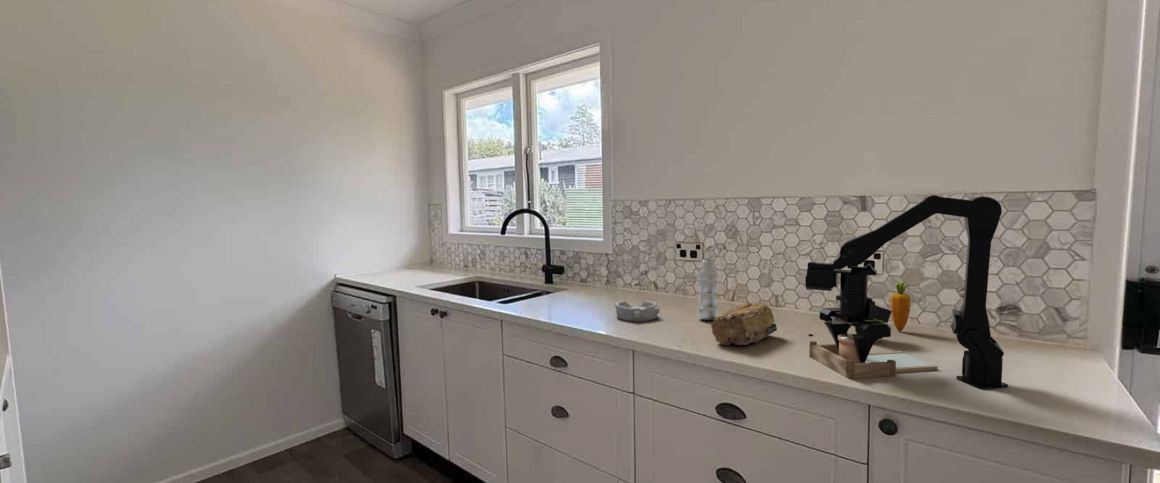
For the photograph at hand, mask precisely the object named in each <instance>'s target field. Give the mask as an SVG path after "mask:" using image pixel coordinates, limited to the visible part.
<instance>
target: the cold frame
mask: <svg viewBox="0 0 1160 483" xmlns="http://www.w3.org/2000/svg"><path fill="white" fill-rule="evenodd" d="M809 357H810V358H811V359H814V360H815V361H817V362H818V363H820V364H822V365H824V366H826V367H828V369H831V370H832V371H834V372H836V373H838V374H840V375H841V376H843V377H844V378H846V379H849V380H854V379H869V378H882V377H881V376H886V377H896V373H897V372H896V361H894V360H887V362H875V363H872V362H865V363H859V364H855V361H853V360H851V359H850V360H846V359H844V358H842V357H840V356H839V349H838V347H837V345H836V343H826V344H824V343H822V344H818V342H817V341H815V340H810V341H809Z"/></svg>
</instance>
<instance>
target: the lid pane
mask: <svg viewBox="0 0 1160 483" xmlns="http://www.w3.org/2000/svg"><path fill="white" fill-rule="evenodd" d="M887 360H894V361H896V373H908V372H923V371H925V372H926V371H938V369H939V368H938V366H937V365H935V364H930V363H928V362H926V361H923V360H921V359H919V358H916V357H914V356H911V355H909V354H906V353H904V351H900V350H896V351H895V350H894V351H881V352H880V351H879V352H869V355H868V357H867V359H866V361H867V362H869V363H875V362H887Z"/></svg>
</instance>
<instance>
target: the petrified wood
mask: <svg viewBox="0 0 1160 483" xmlns="http://www.w3.org/2000/svg"><path fill="white" fill-rule="evenodd" d="M711 330H712V331H711V332H712V335H713V336H714V337H715V340H716V342H718V343H719V344H721V345H722V346H729V345H732V344H734V345H735V346H740V345H741V346H742V345H743V346H745V345H747V346H748V345H750V344H751V343H752V344H757V343H759V342H760V341H762V339H764V338H766V337H767V336H770V335H771V334H773V333H774V332H776V331H778V327H777V323H776V322H775V316H774V313H773V309H771V307H769V306H768V305H767V304H764V303H762V302H761V303H754V304H753V303H750V302H747V303H742V304H739V305H736V306H735V307H733V308H730V309H729V310H727V311H726V312H724V313H722V314H720V315H717V317H716V319H714V320H713V321H712V322H711Z"/></svg>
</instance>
